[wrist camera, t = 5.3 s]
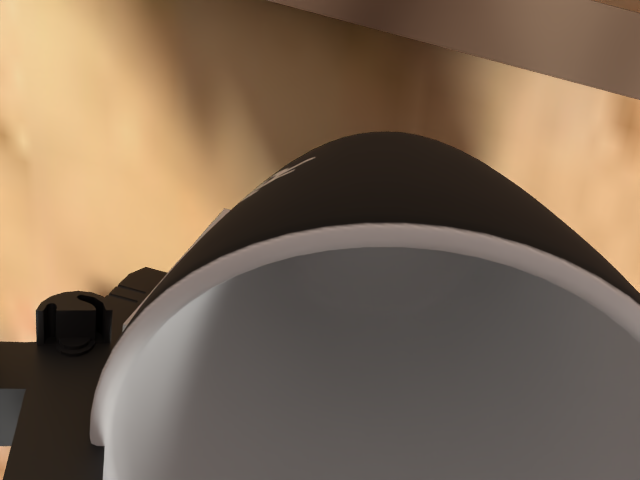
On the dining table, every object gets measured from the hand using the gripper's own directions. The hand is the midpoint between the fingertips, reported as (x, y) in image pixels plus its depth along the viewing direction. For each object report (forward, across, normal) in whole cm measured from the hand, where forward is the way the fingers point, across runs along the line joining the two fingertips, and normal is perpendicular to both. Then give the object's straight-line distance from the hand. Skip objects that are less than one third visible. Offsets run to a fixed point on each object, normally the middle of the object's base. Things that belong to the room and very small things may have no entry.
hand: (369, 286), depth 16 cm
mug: (+1, 0, 0) cm, 1 cm away
